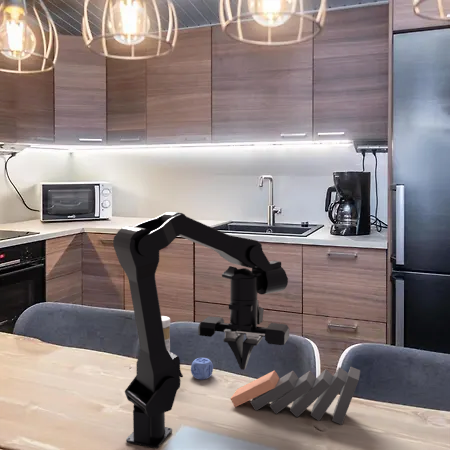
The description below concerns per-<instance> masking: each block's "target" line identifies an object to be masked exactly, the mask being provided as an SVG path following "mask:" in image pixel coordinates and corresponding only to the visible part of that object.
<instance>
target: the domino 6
mask: <svg viewBox="0 0 450 450" xmlns="http://www.w3.org/2000/svg"><path fill="white" fill-rule="evenodd" d="M347 373H348V375H347V380H346V383H345V385H344V386H343V388H342V389H341V390H340V394H339V396H338V399H337V402H336V404H335V408H334V409H333V410H334V411H333V415H332V420H331V422H334V423H336V424H339V425H341V426H342V425H343V423H344V420H345V417H346V415H347V413H348V409H349V407H350V405H351V401H352V399H353V396H354V393H355V391H356V389H357V386H358V384H359V380H360V375H361V369H358V368H355V367H353V366H350V367H349V369H348V372H347Z"/></svg>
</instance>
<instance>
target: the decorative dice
mask: <svg viewBox="0 0 450 450" xmlns="http://www.w3.org/2000/svg"><path fill="white" fill-rule="evenodd" d="M213 371H214V364H213V362H212V361H211V360H210V359H209V358H207V357H198V358H195V359H194V360H193V361H192V362H191V366H190V373H191V375H192V376H193V378H195V379H196V380H202V381H203V380H208V379H209V378H211V376H212V374H213V373H214V372H213Z"/></svg>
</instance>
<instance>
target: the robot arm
mask: <svg viewBox="0 0 450 450" xmlns="http://www.w3.org/2000/svg"><path fill="white" fill-rule="evenodd" d="M177 237H180V238H182V239H186V240H188V241H190V242H192V243H195V244H198V245H200V246H203V247H205V248H207V249H211V250H212V251H215V252H216V253H218V255H219V256H220V257H221V258H223V260H225V261H227V262H228V263H230V264H233V265H237V266H241V267H243V268H237V267H235V266H231V265H230V266H228V268H227V269H226V270H225V271H224V272H223V273H222V274H221V277H222V278H224V279H227V280H230V282H229V283H230V284H229V285H230V291H229V292H230V294H229V295H230V297H229V299H230V301H229V304H228V310H230V312H229V314H230V316H229V317H230V318H229V320H230V321H229V323H228V322H227V323H226V322H225V320H224V318H223V317H221V316H220V317H219V316H209V315H208V316H207V317H206V318H204V319H203V320H202V321H200V322H199V323H198V330H197V331H198V333H197V334H198V335H199V336H202V337H209V338H211V337H213V336H214V335H215V334H216V332H219V333H220V332H222V333H224V338H223V342H224V343H227V345H228V346H229V348H230V350H231V351H232V354H233V355H234V357H235V360H236V362H237V364H238V366H239V369H240V370H242V371H245V370H246V369H247V365H248V363H249V360H250V356H251V354H252V351H253V349H254V347H257V346H258V345H259V343H260V342H261V341H262V340H263V337H264V340H265V342H266V343H267V344H268V345H276V346H277V345H278V346H284V345H286V342H287V341H288V340H289V338H290V327H289V326H288V324H286V323H275V322H270V324H269V325H268V326H267V327H265V326H258V325H260V324H261V323H263V322H264V321H263V318H264V308H263V307H261V306H259V305H260V303H259V300H258V294H259V295H266V294H267V295H268V294H271V293H277V292H281V291H284V290H285V289H287V286H288V283H289V277H287V276H288V274H287V273H286V270H285V269H284V268H283V267H282V262H281V261H278V260H270V261H269V259H268V258H267V256H266V254H265V253H264V251H263V247H262V246H263V245H262V243H261V242H260V241H258V240H256V239H252V238H245V237H240V236H235V235H230V234H227V233H225V232H223V231H220V230H218V229H216V228H214V227H212V226H210V225H207V224H205V223H202V222H199V221H198V220H195V219H193V218H191V217H189V216H187V215H186V214H184V213H182V212H178V211H177V212H176V211H175V212H174V211H167V212H166V211H165V213H162V214H161V215H159V216H157V217H154V218H151V219H148V220H146V221H145V220H144V221H143V222H140V223H137V224H136V225H134V226H133V225H132V226H131V225H129V226H123V227H121V228H120V229H119V230H118V231H117V233H116V234H115V235H114V236H113V239H112V240H113V244H112V245H113V248H114V249H113V250H114V252H115V255H116V256H117V259H118V262H119V264H120V266H121V268H122V270H123V272H124V273H125V275H126V276H127V279H128V284H129V290H130V295H131V301H132V306H133V307H132V308H133V313H134V319H135V326H136V332H137V338H138V343H139V351H140V352H139V355H138V357H137V360H136V375H135V376H134V378H133V379H132V381H131V382H130V383H129V385H128V386H127V388H125V390H124V395H125V398H127V399H126V400H127V401H129V402H131V404H133V409H132V419H133V421H132V426H133V427H132V428H133V429H132V430H133V431H132V432H131V434H129V435H128V436H127V437H126V438H125V442H126V443H129V444H132V445H133V444H134V445H138V446H144V447H149V448H153V449H157V448H159V447H161V445H162V444H163V442H164V441H165V440H166V439H167V437H169V435H170V434H171V433H172V432H173V428H171V427H167V426H166V424H165V423H166V415H165V414H166V413H167V412H170V411H171V410H172V409H173V406H174V402H175V399H176V395H177V392H178V390H179V389H180V387H181V378H183V377H184V375H183V373H182V371H181V359H180V356H179V355H177V354H175V353H173V352H171V350H170V351H168V350H167V348H166V343H165V337H164V331H163V324H162V318H161V316H162V312H161V307H160V300H159V294H158V288H157V282H156V273H157V270H158V267H159V263H160V251H161V250H164V249H165V248H166V247H168V246H169V245H170V244H172V242H174V240H175V239H176V238H177ZM248 268H249V269H248ZM250 269H251V270H250ZM245 337H246V338H245ZM244 338H245V339H244Z"/></svg>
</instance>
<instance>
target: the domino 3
mask: <svg viewBox="0 0 450 450" xmlns="http://www.w3.org/2000/svg"><path fill="white" fill-rule="evenodd" d="M298 378H299V379H298V381H297V383H296V385H295V388H294V389H292V390H290V391H289V392H287V393H285V394H284V395H282V396H280V397H278V398H277V399H275V400H273V401H272V402H270V403H269V407H270V408H271V410H272V411H273V412H274V414H275V415H277V414H278V413H279V412H281V411H282V410H283V409H285V408H286V407H288V406H289V405H292V404H293V402H294V401H295V400H296V399H298V398H299V397H300V396H302V395H303V394H305V393H306V392H308V391H309V390H310V389H312V388H313V386H314V383H315V380H316V378H317V377H316V376H315V374H314V372H312V371H311V370H309V371H307V372H306V373H304V374H303V375H302V376H300V377H298Z"/></svg>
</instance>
